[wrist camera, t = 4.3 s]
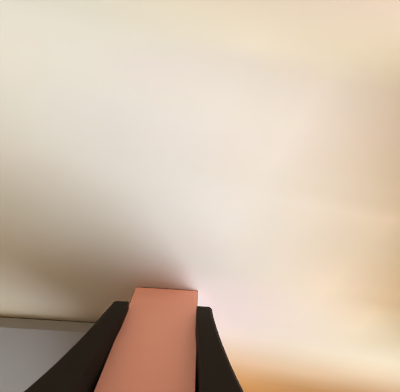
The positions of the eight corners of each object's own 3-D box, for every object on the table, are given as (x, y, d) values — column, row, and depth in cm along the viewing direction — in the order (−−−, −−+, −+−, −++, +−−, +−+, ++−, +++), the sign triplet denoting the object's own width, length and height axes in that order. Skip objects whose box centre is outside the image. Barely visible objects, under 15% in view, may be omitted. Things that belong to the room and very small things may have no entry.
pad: (113, 434, 15) (109, 446, 15) (-33, 426, 15) (-42, 438, 15) (103, 323, 12) (98, 333, 12) (-79, 312, 12) (-93, 321, 12)
